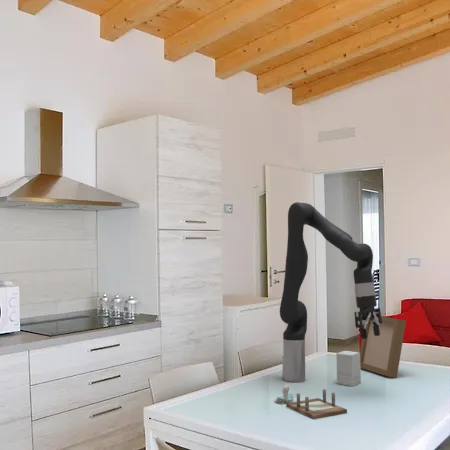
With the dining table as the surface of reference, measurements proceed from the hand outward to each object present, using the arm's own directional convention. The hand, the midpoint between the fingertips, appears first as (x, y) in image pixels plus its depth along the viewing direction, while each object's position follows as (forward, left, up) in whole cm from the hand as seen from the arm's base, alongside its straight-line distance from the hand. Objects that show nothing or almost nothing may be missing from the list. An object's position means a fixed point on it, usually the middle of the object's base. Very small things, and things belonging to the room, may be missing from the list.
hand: (370, 337), depth 211 cm
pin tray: (+6, -30, -22) cm, 38 cm away
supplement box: (-17, +4, -22) cm, 28 cm away
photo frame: (-25, +32, -22) cm, 46 cm away
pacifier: (-9, -35, -22) cm, 42 cm away
